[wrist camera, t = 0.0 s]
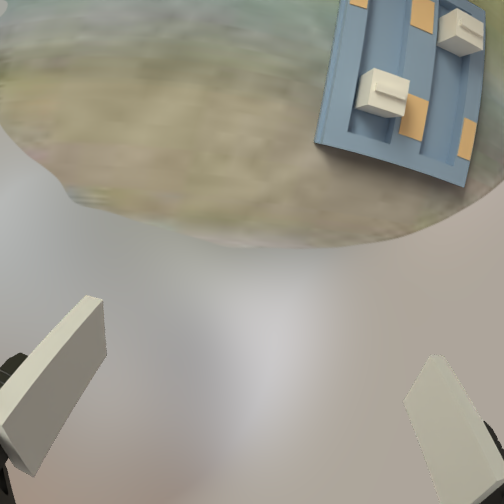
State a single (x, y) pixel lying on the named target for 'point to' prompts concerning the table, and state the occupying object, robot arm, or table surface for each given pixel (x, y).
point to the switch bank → (420, 88)
